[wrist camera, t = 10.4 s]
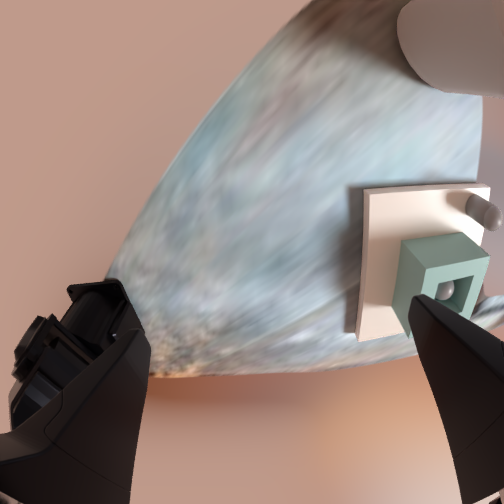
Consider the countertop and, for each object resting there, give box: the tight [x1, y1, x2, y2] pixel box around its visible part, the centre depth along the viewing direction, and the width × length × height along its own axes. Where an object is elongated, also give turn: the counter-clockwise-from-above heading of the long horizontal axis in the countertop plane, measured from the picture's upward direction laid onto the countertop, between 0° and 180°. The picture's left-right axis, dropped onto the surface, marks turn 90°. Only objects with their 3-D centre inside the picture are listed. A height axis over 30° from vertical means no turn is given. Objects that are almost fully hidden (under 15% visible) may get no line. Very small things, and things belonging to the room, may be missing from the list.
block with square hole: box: [391, 232, 490, 339], centre depth 19 cm, size 6×6×4 cm
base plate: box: [355, 183, 503, 342], centre depth 19 cm, size 12×14×5 cm
